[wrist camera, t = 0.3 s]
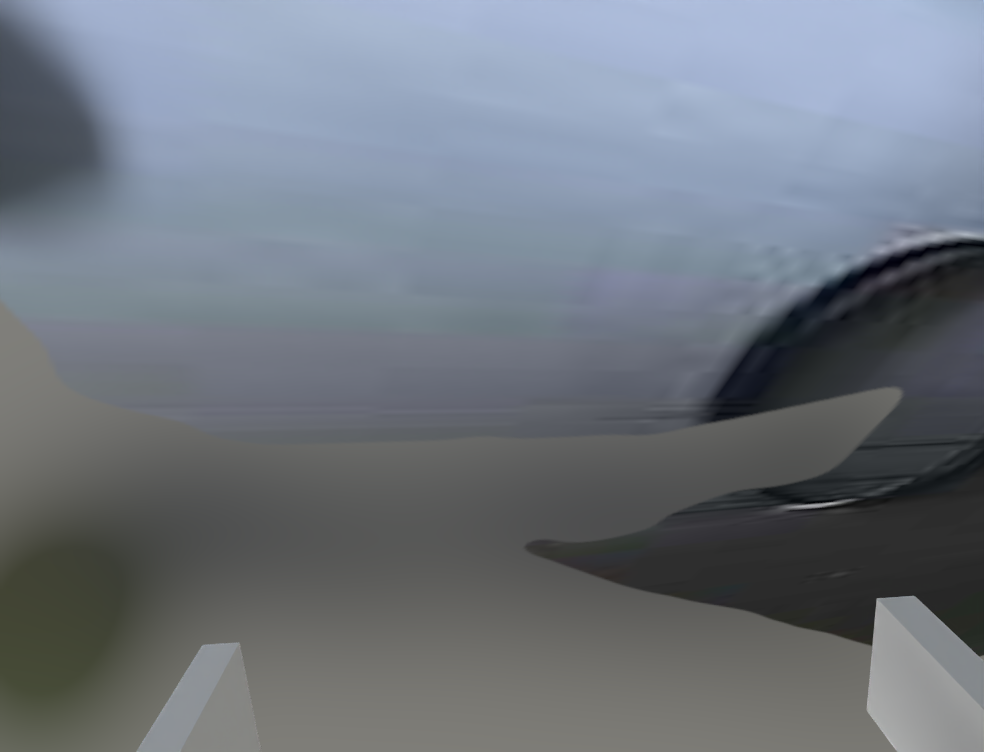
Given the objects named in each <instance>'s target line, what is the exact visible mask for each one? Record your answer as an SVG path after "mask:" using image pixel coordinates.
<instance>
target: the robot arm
mask: <svg viewBox="0 0 984 752" xmlns="http://www.w3.org/2000/svg"><path fill="white" fill-rule="evenodd" d="M867 711H868V713H869V714H870V715H871V717H872V718H873V719H874V721H875V722H876V723H877V725H878V726H879V728H880V729H881V730H882V731H883V733H884V735H885V736H886V737H887V739H888V740H889V741H890V743H891V744H892V745H893V747H894V748H895V749H896V751H897V752H984V661H983V660H982V659H981V658H980V657H979V656H977V655H976V654H975V653H974V652H973V651H972V650H971V649H970V648H969V647H968V646H967V645H966V644H965V643H964V642H963V641H962V640H961V639H959V638H958V637H957V636H956V635H955V634H954V633H953V632H952V631H951V630H950V629H949V628H948V627H947V626H946V625H945V624H944V623H943V622H941V621H940V620H939V619H938V618H937V617H936V616H935V615H934V614H933V613H932V612H931V611H930V610H929V609H928V608H927V607H926V606H925V605H923V604H922V603H921V602H920V601H919V600H918V599H917V598H916V597H915V596H907V597H892V598H878V599H877V603H876V614H875V625H874V636H873V647H872V659H871V669H870V680H869V691H868V703H867ZM136 752H261V748H260V744H259V738H258V733H257V728H256V723H255V718H254V713H253V708H252V703H251V698H250V693H249V688H248V683H247V678H246V673H245V668H244V663H243V658H242V653H241V648H240V643H224V644H211V645H202V647H201V648H200V650H199V652H198V653H197V655H196V656H195V658H194V660H193V661H192V663H191V664H190V666H189V668H188V669H187V671H186V672H185V674H184V676H183V677H182V679H181V681H180V682H179V684H178V685H177V687H176V689H175V690H174V692H173V694H172V695H171V697H170V698H169V700H168V701H167V703H166V705H165V706H164V708H163V710H162V711H161V713H160V714H159V716H158V718H157V719H156V721H155V723H154V724H153V726H152V727H151V729H150V730H149V732H148V734H147V735H146V737H145V739H144V740H143V742H142V743H141V745H140V747H139V748H138V750H137V751H136Z"/></svg>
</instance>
